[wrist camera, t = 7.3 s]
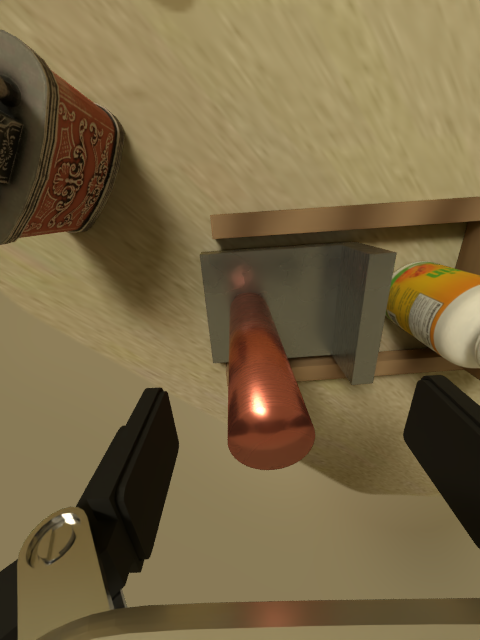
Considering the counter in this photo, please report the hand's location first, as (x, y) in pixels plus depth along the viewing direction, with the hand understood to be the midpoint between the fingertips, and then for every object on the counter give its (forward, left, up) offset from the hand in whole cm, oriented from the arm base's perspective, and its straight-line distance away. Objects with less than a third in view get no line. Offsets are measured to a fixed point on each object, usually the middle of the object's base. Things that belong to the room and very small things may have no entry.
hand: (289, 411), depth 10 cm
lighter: (+11, -10, -13) cm, 19 cm away
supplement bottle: (-13, 0, -13) cm, 18 cm away
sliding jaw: (-2, 0, -12) cm, 12 cm away
